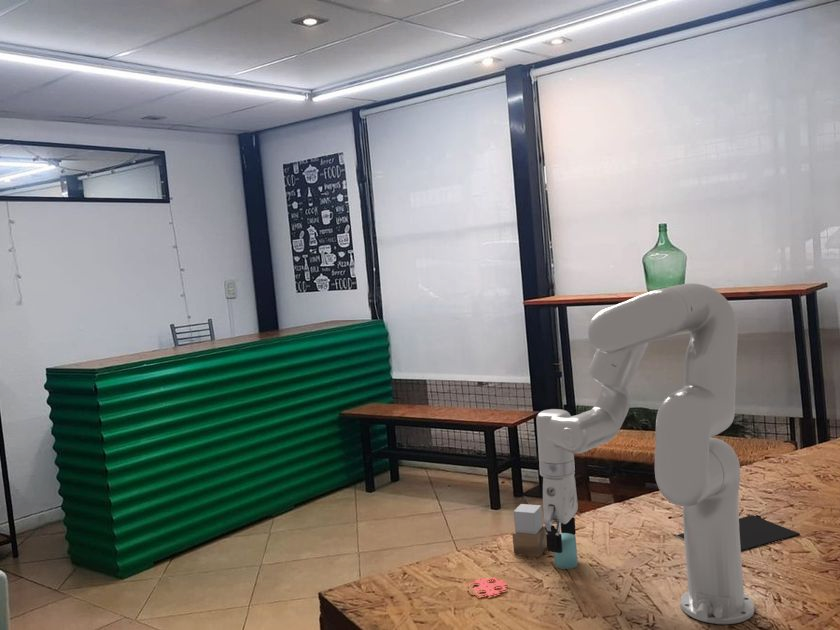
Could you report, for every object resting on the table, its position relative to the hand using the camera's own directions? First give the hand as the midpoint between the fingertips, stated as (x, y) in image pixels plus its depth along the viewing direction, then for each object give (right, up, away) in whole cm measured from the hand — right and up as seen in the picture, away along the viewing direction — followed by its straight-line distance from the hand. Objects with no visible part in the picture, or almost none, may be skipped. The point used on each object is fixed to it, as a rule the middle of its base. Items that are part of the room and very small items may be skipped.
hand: (561, 542), depth 158 cm
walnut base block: (-5, -5, +9) cm, 11 cm away
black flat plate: (+41, -1, +6) cm, 41 cm away
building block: (-17, -7, -8) cm, 20 cm away
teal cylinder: (+1, -5, 0) cm, 5 cm away
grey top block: (-6, 0, +9) cm, 11 cm away
